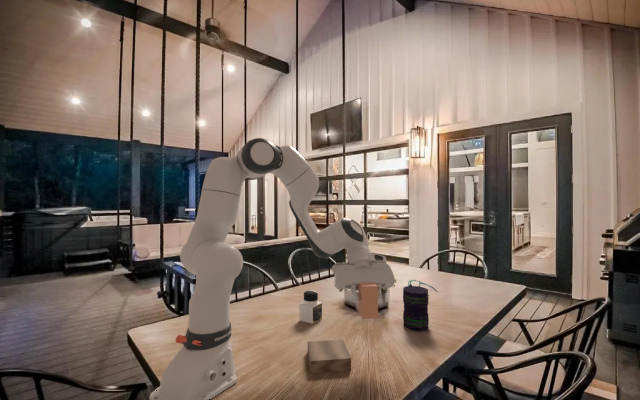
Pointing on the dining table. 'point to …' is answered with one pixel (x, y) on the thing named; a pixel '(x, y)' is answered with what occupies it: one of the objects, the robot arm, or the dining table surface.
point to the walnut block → (328, 356)
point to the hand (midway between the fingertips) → (368, 299)
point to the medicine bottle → (310, 308)
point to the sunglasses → (420, 283)
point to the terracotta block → (368, 300)
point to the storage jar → (415, 308)
